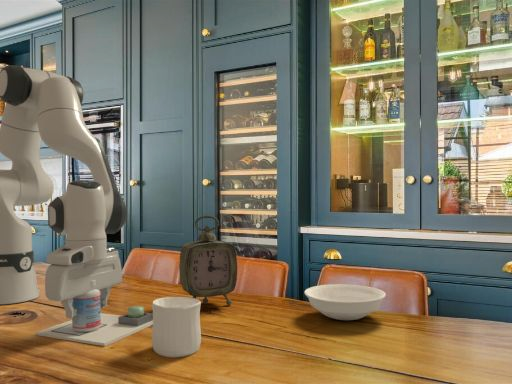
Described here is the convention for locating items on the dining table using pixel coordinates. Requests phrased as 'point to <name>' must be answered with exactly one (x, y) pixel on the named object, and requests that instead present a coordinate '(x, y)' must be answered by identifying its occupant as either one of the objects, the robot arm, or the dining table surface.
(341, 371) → the dining table surface
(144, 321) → the button housing
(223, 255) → the tabletop clock
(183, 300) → the cup
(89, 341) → the paper board
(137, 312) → the button
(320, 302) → the bowl
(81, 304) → the pill bottle
